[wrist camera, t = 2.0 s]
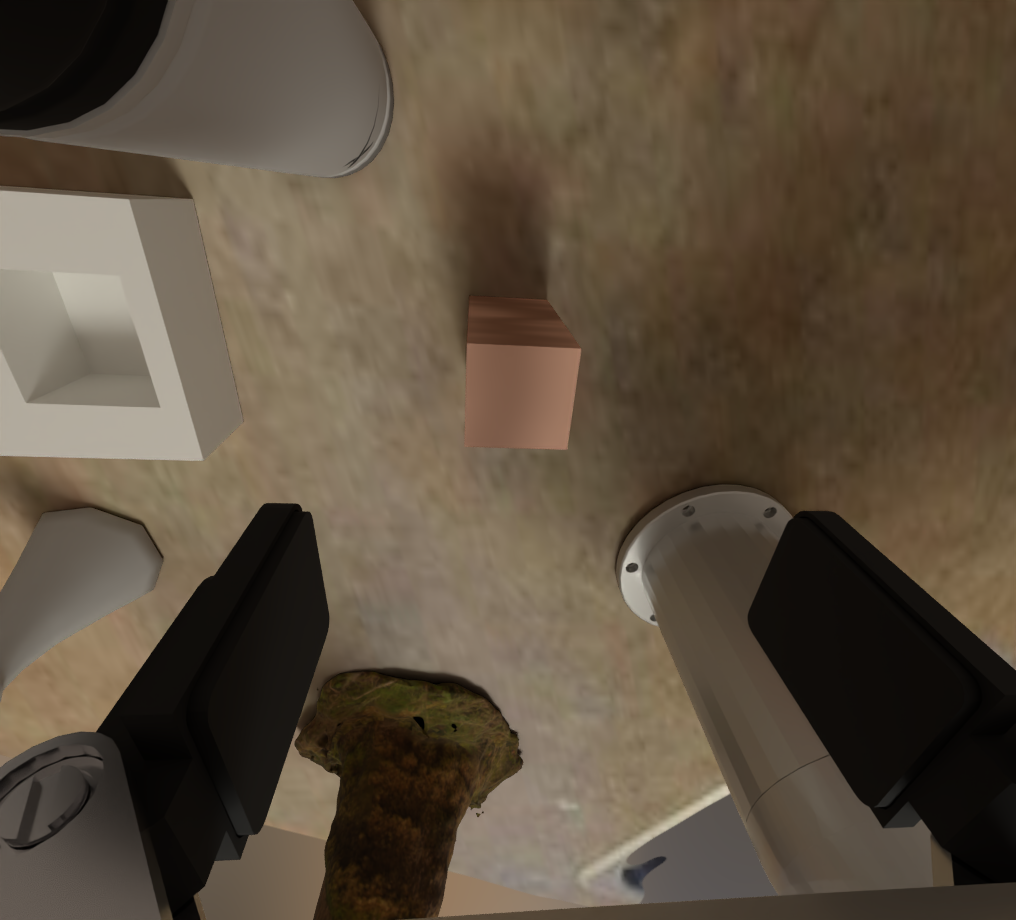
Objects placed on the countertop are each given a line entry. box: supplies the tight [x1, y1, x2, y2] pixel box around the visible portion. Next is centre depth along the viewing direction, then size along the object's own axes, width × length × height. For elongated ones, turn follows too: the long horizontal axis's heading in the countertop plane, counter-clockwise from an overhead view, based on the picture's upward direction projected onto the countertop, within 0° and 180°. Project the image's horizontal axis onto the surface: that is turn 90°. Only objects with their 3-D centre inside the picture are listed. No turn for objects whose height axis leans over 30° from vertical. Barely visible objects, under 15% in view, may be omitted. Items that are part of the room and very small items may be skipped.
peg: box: [465, 295, 581, 450], centre depth 21 cm, size 4×4×9 cm
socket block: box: [0, 186, 244, 461], centre depth 21 cm, size 15×11×4 cm
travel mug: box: [0, 0, 394, 178], centre depth 11 cm, size 6×7×20 cm
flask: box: [0, 507, 163, 701], centre depth 26 cm, size 7×7×10 cm
